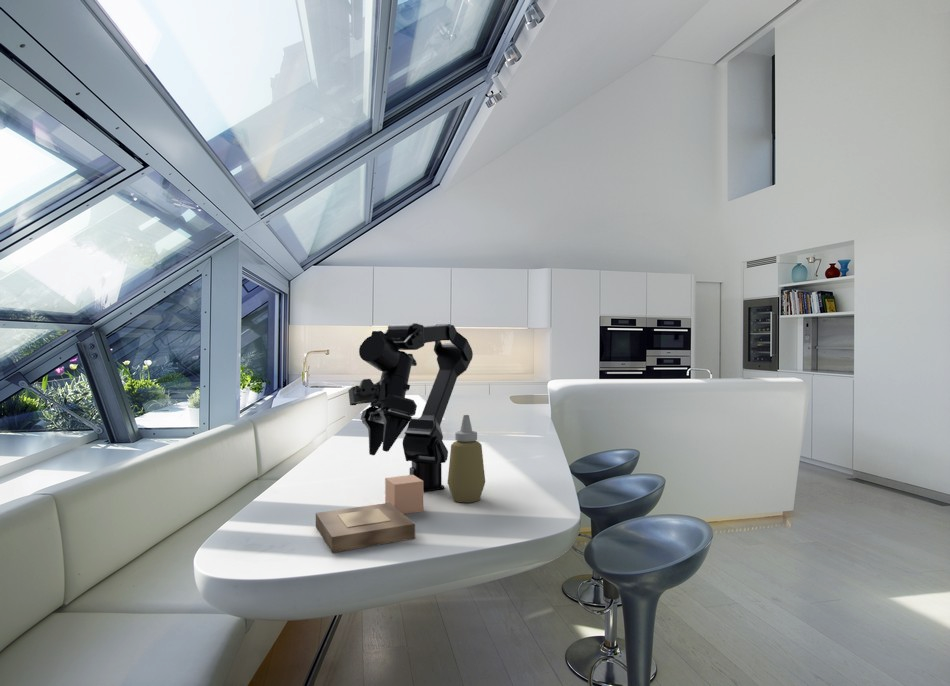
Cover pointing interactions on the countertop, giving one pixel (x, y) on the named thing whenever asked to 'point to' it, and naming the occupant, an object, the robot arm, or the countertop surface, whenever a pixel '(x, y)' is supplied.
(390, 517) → the base board
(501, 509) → the countertop surface
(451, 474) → the squeeze bottle
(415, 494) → the cube
